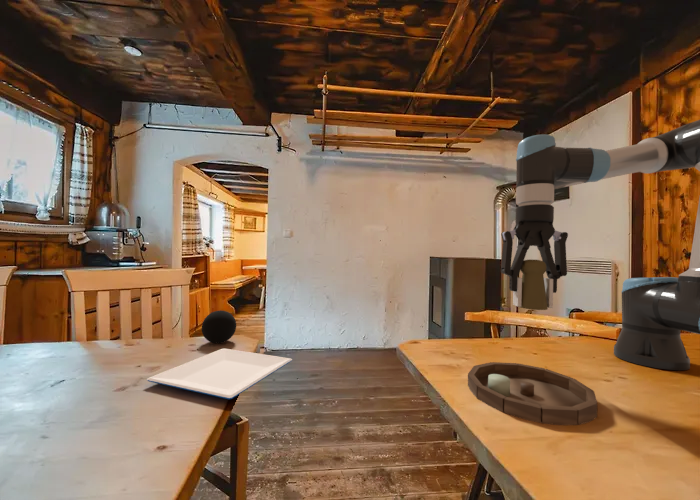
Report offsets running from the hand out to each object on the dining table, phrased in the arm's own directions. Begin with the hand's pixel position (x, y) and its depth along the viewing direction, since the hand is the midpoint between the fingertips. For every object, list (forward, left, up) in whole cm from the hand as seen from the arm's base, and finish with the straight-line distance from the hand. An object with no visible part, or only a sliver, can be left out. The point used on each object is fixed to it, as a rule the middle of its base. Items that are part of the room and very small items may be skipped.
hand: (532, 306), depth 70 cm
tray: (+5, +9, -17) cm, 20 cm away
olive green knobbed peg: (0, 0, 0) cm, 0 cm away
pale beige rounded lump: (+11, +9, -16) cm, 21 cm away
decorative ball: (+84, -20, -17) cm, 88 cm away
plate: (+70, +4, -18) cm, 73 cm away
